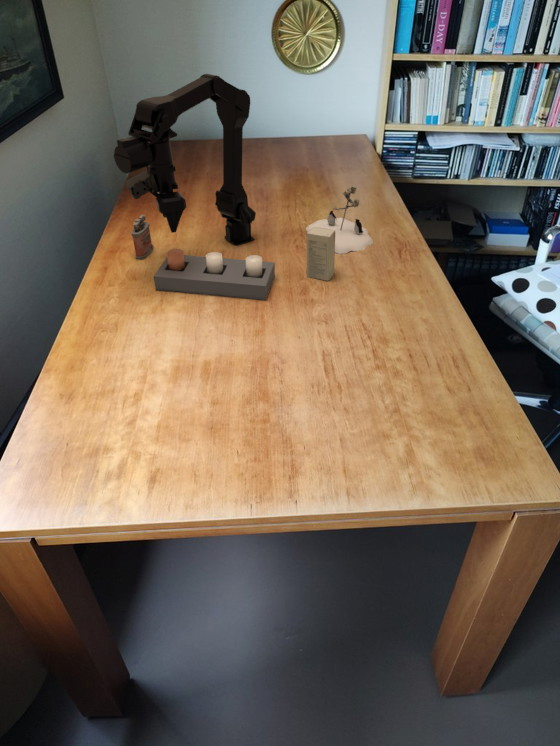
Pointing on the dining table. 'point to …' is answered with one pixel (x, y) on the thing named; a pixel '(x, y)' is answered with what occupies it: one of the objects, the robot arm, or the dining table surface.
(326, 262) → the skincare box
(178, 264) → the terracotta button
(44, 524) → the dining table surface
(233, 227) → the robot arm
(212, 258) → the button
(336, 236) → the figurine
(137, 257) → the lighter
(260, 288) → the button panel
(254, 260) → the button
